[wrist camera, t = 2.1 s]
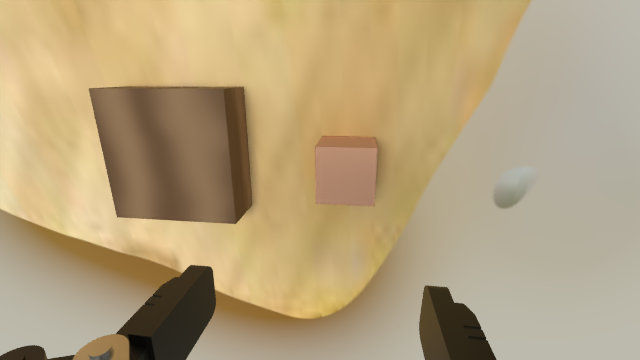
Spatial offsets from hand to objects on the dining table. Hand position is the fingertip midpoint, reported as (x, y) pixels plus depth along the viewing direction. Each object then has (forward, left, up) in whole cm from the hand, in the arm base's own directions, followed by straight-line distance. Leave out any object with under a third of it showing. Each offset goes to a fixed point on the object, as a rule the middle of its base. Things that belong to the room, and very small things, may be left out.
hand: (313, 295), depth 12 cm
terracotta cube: (0, 0, -20) cm, 20 cm away
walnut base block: (+16, -1, -21) cm, 26 cm away
